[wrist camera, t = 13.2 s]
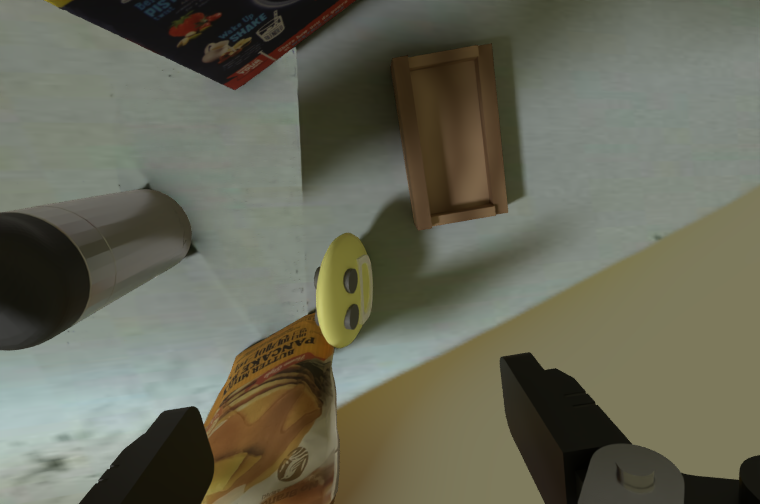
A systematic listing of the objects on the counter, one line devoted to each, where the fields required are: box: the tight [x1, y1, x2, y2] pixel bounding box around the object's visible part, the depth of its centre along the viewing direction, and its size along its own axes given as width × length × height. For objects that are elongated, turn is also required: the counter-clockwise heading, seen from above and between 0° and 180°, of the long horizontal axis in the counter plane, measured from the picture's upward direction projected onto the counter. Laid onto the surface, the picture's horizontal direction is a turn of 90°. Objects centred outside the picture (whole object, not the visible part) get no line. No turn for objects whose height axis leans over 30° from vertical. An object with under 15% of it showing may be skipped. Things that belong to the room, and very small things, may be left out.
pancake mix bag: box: [201, 313, 340, 504], centre depth 38 cm, size 7×19×28 cm, turn 120°
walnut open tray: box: [390, 43, 508, 231], centre depth 44 cm, size 10×17×4 cm, turn 10°
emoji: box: [314, 233, 373, 348], centre depth 44 cm, size 4×12×12 cm, turn 1°
